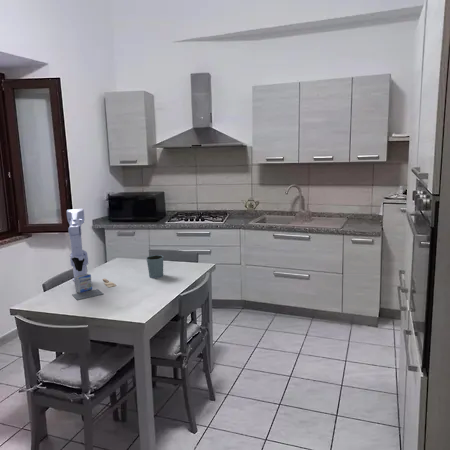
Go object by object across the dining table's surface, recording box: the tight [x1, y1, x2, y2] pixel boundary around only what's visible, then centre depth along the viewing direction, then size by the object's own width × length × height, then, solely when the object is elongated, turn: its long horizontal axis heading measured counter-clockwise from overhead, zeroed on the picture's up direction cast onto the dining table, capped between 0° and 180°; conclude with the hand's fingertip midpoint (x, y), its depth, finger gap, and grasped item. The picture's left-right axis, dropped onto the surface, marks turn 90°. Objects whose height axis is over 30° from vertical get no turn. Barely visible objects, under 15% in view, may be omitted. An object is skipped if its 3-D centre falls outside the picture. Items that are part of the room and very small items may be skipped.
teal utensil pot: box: [146, 254, 164, 279], centre depth 245 cm, size 10×10×12 cm
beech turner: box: [102, 278, 117, 288], centre depth 235 cm, size 15×4×1 cm, turn 34°
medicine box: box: [73, 273, 93, 293], centre depth 223 cm, size 8×4×9 cm, turn 143°
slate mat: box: [72, 288, 104, 301], centre depth 217 cm, size 10×14×1 cm
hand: (79, 270), depth 227 cm, fingers open, 3 cm apart
